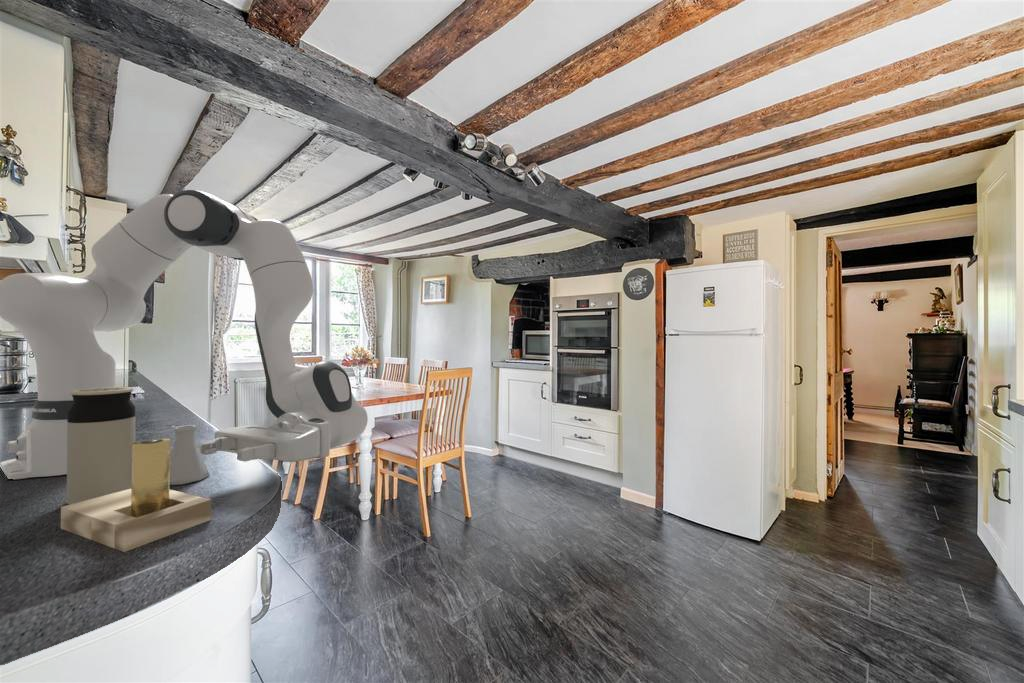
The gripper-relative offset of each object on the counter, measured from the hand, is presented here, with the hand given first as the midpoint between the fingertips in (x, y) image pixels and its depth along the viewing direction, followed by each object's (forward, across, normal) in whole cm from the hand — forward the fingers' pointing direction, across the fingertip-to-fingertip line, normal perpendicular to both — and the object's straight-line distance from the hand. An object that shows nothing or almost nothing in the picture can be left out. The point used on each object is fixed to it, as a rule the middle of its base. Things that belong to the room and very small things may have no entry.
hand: (220, 452), depth 66 cm
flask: (-5, -18, +8) cm, 21 cm away
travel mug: (+6, -20, +8) cm, 23 cm away
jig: (+9, -3, +8) cm, 13 cm away
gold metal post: (+9, 0, +8) cm, 12 cm away
